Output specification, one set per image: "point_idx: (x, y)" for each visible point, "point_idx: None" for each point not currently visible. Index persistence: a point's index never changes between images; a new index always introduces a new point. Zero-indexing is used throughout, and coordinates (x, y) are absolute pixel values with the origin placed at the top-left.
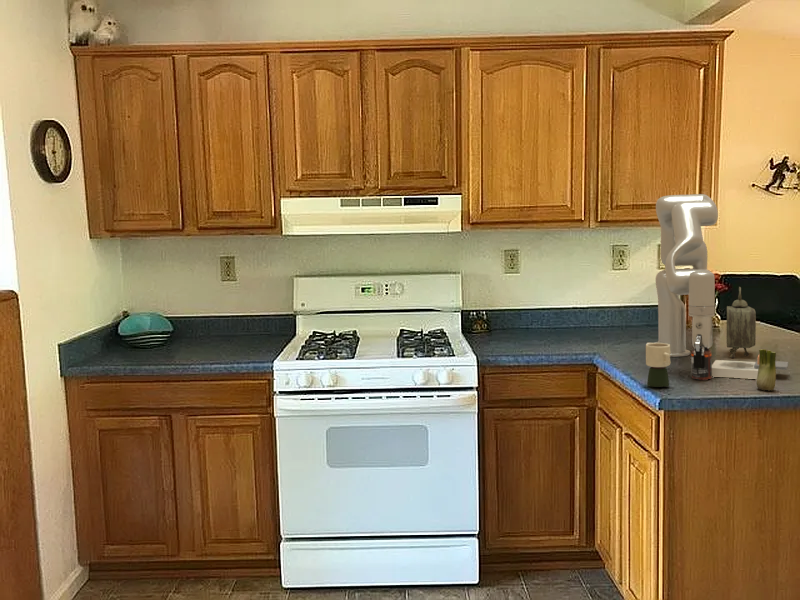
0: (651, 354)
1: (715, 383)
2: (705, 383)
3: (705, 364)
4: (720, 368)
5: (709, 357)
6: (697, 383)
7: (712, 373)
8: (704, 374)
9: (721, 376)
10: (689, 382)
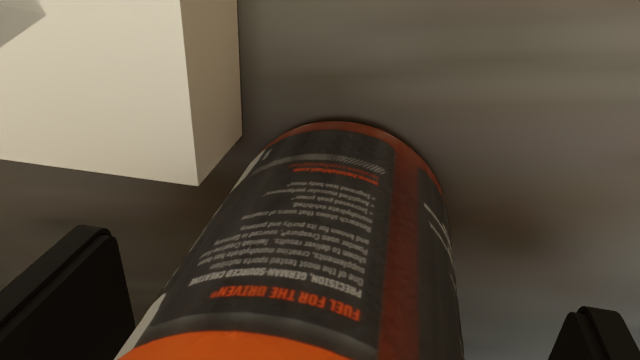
0: None
1: (591, 63)
2: (595, 174)
3: (451, 310)
4: (180, 43)
5: (381, 353)
6: (598, 247)
7: (224, 124)
8: (448, 224)
9: (228, 8)
10: (548, 308)
